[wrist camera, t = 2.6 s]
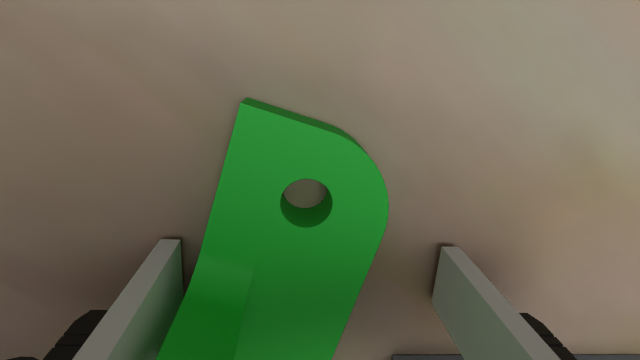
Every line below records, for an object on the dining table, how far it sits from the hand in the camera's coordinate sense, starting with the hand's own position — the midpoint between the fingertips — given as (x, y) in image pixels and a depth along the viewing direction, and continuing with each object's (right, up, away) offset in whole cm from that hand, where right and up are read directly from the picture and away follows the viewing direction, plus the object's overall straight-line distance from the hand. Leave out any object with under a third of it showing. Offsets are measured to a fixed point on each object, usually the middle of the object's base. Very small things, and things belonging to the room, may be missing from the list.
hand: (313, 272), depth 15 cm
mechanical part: (-1, +1, +1) cm, 2 cm away
